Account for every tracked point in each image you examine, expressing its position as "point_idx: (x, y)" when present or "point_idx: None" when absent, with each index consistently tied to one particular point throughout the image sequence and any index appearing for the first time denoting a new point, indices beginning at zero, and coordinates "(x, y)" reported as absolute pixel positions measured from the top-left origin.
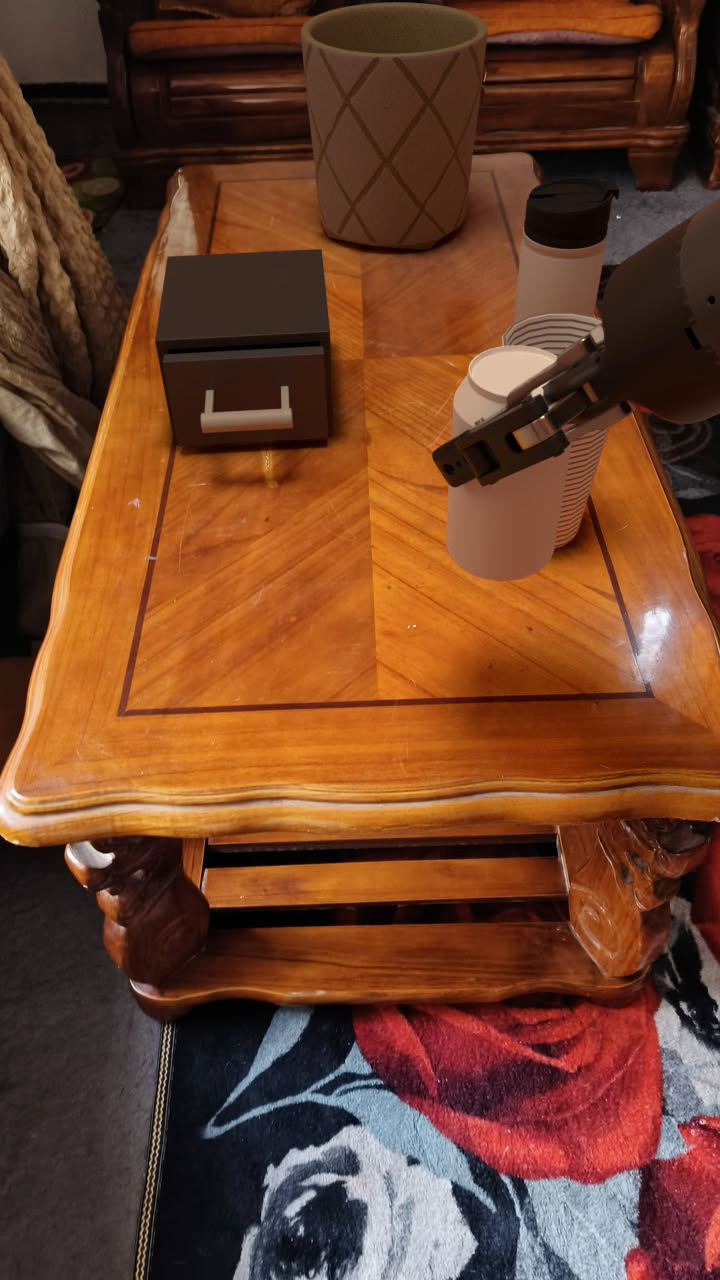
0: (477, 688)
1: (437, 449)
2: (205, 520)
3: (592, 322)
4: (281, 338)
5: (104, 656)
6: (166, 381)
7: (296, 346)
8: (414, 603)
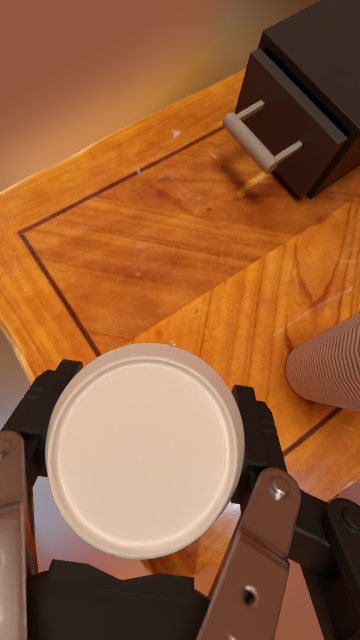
0: None
1: (59, 366)
2: (186, 177)
3: None
4: (330, 105)
5: (53, 197)
6: None
7: None
8: (192, 333)
